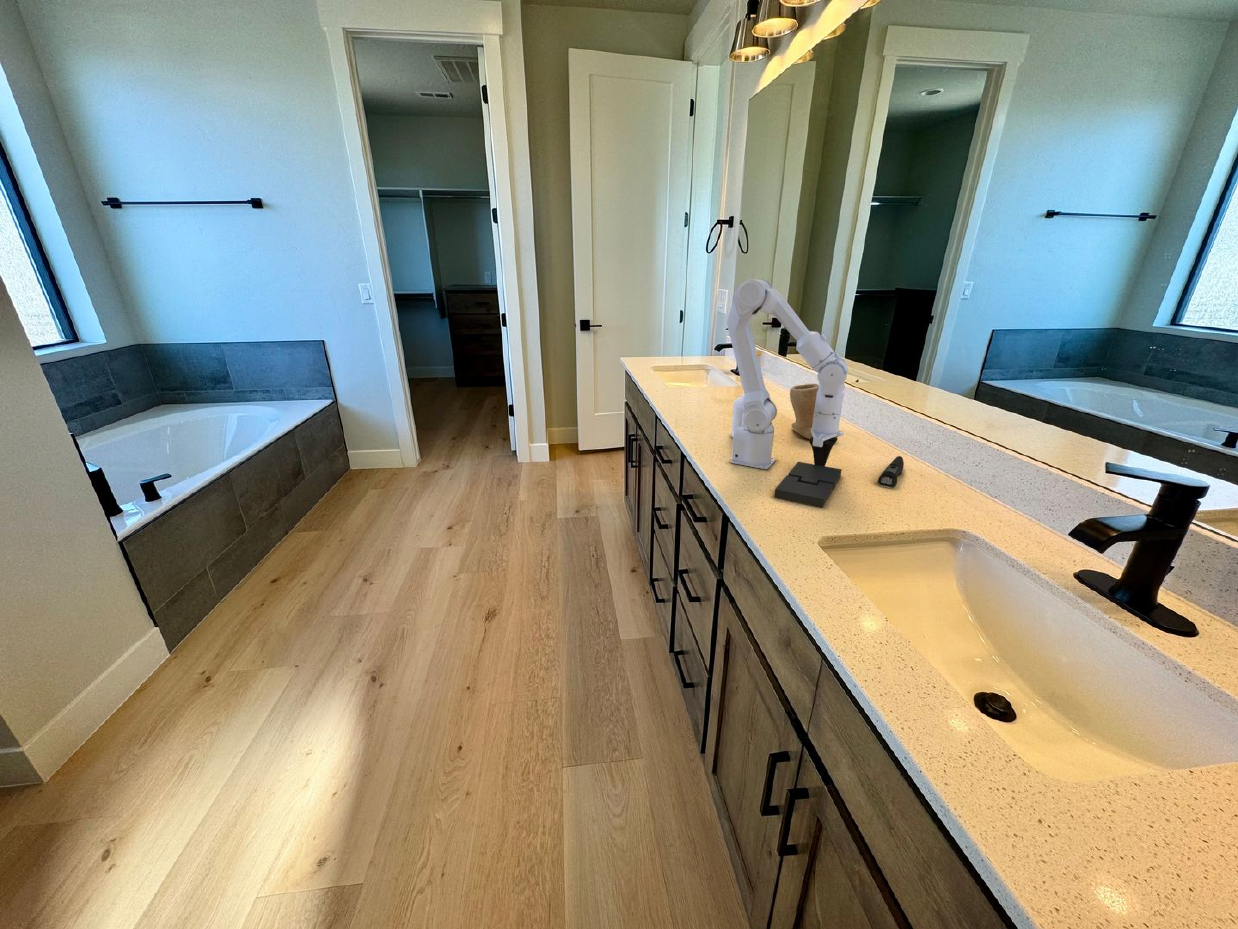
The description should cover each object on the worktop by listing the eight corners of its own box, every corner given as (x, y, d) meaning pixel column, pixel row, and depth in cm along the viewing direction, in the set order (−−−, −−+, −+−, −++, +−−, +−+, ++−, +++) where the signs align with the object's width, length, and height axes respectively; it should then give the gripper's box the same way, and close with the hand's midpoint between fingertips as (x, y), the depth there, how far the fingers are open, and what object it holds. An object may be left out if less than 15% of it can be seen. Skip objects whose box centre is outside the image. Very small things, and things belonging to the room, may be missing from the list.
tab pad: (784, 485, 112) (785, 476, 111) (797, 469, 121) (797, 461, 120) (831, 494, 107) (832, 485, 106) (840, 477, 116) (841, 469, 115)
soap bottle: (766, 441, 141) (775, 354, 132) (734, 442, 141) (741, 355, 132) (758, 432, 149) (766, 350, 140) (728, 432, 149) (734, 350, 140)
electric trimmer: (906, 468, 120) (909, 456, 119) (894, 489, 109) (897, 475, 108) (889, 465, 123) (892, 453, 122) (876, 485, 111) (878, 472, 110)
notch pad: (774, 497, 106) (775, 489, 105) (785, 483, 113) (786, 475, 112) (822, 508, 101) (824, 499, 100) (831, 492, 108) (832, 484, 107)
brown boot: (780, 427, 153) (786, 379, 148) (819, 427, 153) (825, 379, 147) (796, 443, 139) (802, 391, 133) (838, 443, 139) (846, 390, 133)
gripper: (840, 422, 106) (831, 480, 111) (851, 407, 117) (842, 460, 122) (806, 417, 109) (799, 473, 114) (820, 403, 121) (813, 455, 126)
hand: (819, 466), depth 118 cm, fingers closed
